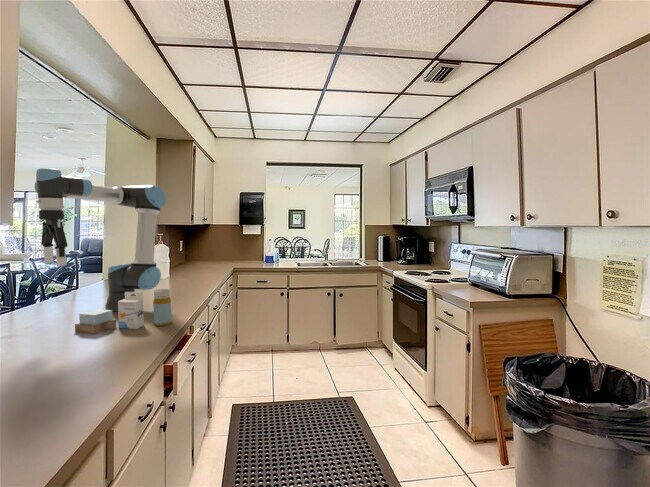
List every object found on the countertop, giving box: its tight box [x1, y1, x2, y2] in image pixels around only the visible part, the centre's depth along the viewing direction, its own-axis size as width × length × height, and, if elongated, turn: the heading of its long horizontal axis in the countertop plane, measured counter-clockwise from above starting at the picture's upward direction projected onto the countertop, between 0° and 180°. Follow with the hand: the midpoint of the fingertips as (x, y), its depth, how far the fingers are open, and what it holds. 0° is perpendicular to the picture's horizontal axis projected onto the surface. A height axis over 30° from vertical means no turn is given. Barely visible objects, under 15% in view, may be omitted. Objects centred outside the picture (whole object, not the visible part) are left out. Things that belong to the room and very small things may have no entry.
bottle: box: [152, 288, 172, 327], centre depth 149 cm, size 7×7×15 cm
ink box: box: [117, 291, 145, 330], centre depth 144 cm, size 8×5×15 cm, turn 86°
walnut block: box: [74, 318, 117, 336], centre depth 141 cm, size 10×10×4 cm
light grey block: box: [78, 308, 113, 325], centre depth 141 cm, size 8×8×4 cm
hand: (55, 264), depth 132 cm, fingers open, 13 cm apart
